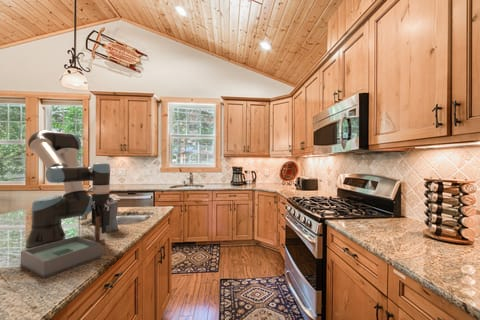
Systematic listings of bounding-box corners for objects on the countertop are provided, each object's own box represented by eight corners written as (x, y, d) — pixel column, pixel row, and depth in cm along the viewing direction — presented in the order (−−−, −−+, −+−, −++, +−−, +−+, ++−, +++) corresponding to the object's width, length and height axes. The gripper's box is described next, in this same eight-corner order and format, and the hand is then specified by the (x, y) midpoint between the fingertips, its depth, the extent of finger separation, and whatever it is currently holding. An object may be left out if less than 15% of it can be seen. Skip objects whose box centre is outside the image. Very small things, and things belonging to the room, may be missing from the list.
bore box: (20, 265, 86) (20, 250, 86) (76, 248, 104) (77, 236, 104) (43, 278, 77) (44, 261, 77) (101, 257, 94) (101, 243, 95)
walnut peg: (93, 244, 109) (94, 216, 110) (101, 241, 113) (102, 215, 113) (98, 245, 107) (98, 217, 108) (106, 243, 111) (106, 215, 111)
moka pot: (97, 234, 124) (98, 200, 124) (102, 227, 138) (103, 196, 138) (116, 232, 127) (117, 199, 128) (119, 225, 142) (120, 195, 142)
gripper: (83, 192, 111) (82, 238, 111) (103, 195, 103) (102, 243, 103) (98, 191, 118) (98, 233, 117) (118, 193, 110) (117, 239, 110)
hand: (99, 238), depth 110 cm, fingers closed on walnut peg, 4 cm apart
